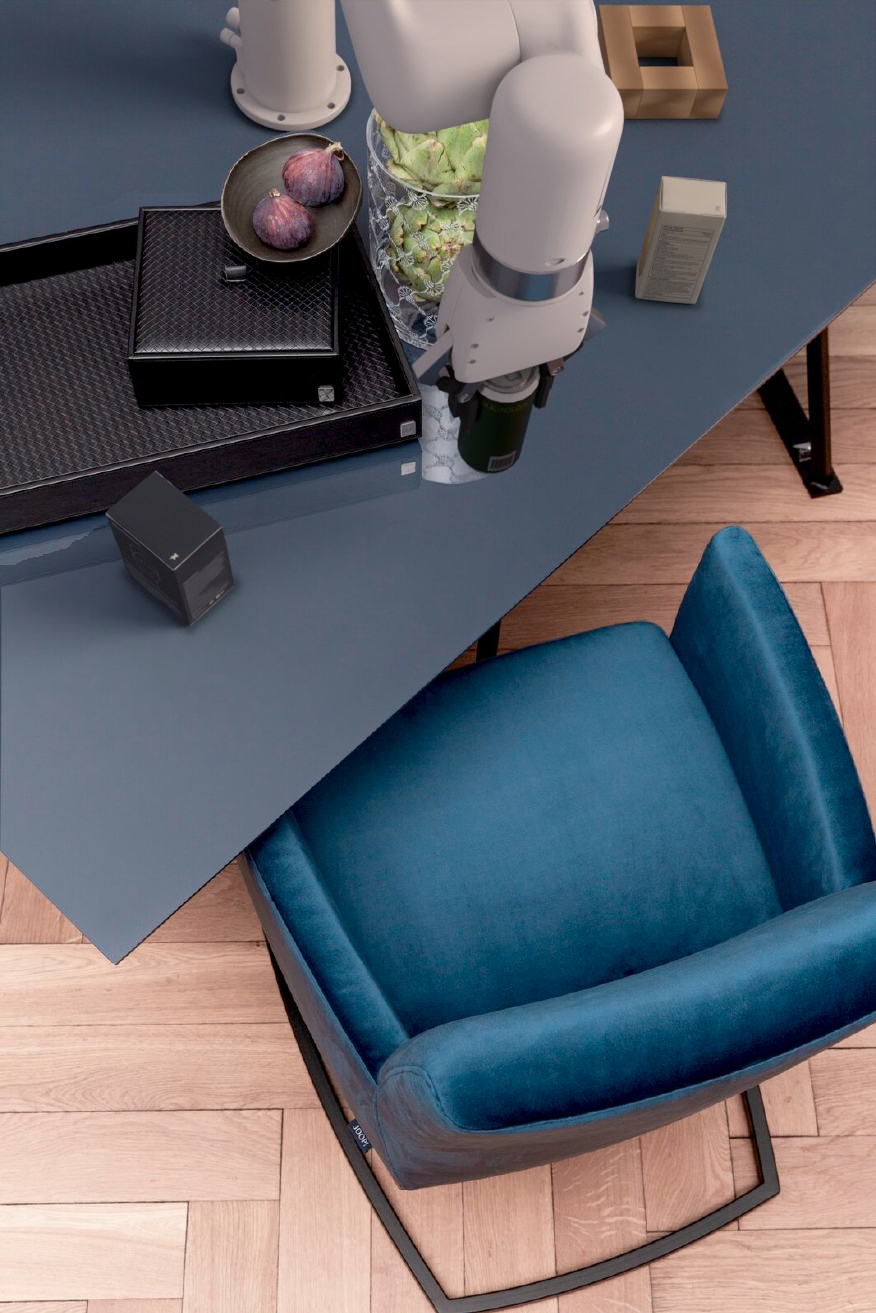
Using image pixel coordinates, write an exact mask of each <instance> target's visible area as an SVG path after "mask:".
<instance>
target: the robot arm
mask: <svg viewBox="0 0 876 1313" xmlns="http://www.w3.org/2000/svg"><path fill="white" fill-rule="evenodd" d="M339 2H340V6H341V9H342V13H343V16H344V20H345V24H346V28H347V31H348V34H349V37H350V41H351V44H352V48H353V52H354V55H355V58H356V59H355V60H356V62H357V65H358V69H359V73H360V75H361V78H362V81H363V84H364V86H365V89H366V91H367V95H368V97H369V99H370V102H371V104H372V105H373V108H374V109H375V111H376V113H377V114H378V116H379V117H380V118H381V119H382V121H383V122H384V123H385V124H387V126H389V127H390V128H391V129H393V130H395V131H397V132H400V133H403V134H407V135H424V134H428V133H433V132H438V131H442V130H447V129H451V128H456V127H460V126H463V125H467V124H468V125H469V124H472V123H476V122H482V121H487V120H489V121H488V128H487V135H486V143H485V151H484V159H483V164H482V173H481V180H480V186H479V195H478V199H477V207H476V215H475V220H474V228H473V229H474V230H473V235H472V242H471V243H469V244H466V245H464V246H463V247H461V248H460V250H459V251H458V253H457V256H456V257H455V259H454V261H453V263H452V265H451V267H450V270H449V273H448V275H447V278H446V281H445V284H444V287H443V292H442V295H441V299H440V304H439V308H438V313H437V317H436V322H435V329H434V330H435V331H434V332H435V338H436V341H435V342H434V343H433V344H432V345H431V346H430V347H428V348H427V349H426V351H425V352H424V353H423V354H422V355H420V357H418V359H416V360H415V361H414V362H413V363H412V364H411V366H410V369H411V372H412V373H413V376H414V378H415V380H416V382H417V383H418V384H420V385H421V384H422V385H425V386H428V387H433V386H435V387H437V390H438V391H439V392H443V393H445V394H448V396H447V406H448V409H449V412H450V414H451V416H452V418H453V419H456V418H459V422H460V421H461V423H462V425H463V427H464V429H465V431H467V430H470V429H472V428H473V427H474V425H475V420H476V414H477V409H478V403H479V401H478V397H477V395H476V393H475V392H476V391H477V389H478V387H479V386H480V384H481V382H482V381H483V380H487V379H490V378H494V377H498V376H501V375H505V374H508V373H512V372H515V371H519V370H522V369H525V368H529V367H532V366H535V365H539V370H540V379H539V383H538V387H537V391H536V395H535V399H534V403H533V407H534V408H535V409H538V410H540V409H543V408H546V406H547V402H548V399H549V394H550V391H551V390H552V388H553V385H554V381H555V377H556V376H557V375H560V374H562V373H563V372H564V371H565V369H566V366H565V362H566V361H568V360H569V359H571V358H572V357H574V355H575V354H576V353H578V352H580V350H582V349H583V347H584V344H585V341H586V342H588V341H589V340H591V339H592V338H594V337H595V336H597V334H599V333H600V332H601V331H604V329H605V328H606V327H607V323H606V321H605V320H604V317H603V316H602V313H601V312H600V310H599V309H598V308H596V307H594V306H592V305H593V304H592V303H593V296H594V260H593V259H594V258H593V253H592V250H591V249H592V245H593V241H594V239H595V238H596V237H597V236H599V234H600V233H603V232H607V231H608V230H609V227H610V219H609V215H608V213H607V211H606V210H604V209H602V208H603V203H604V200H605V197H606V193H607V189H608V185H609V182H610V178H611V174H612V171H613V168H614V164H615V160H616V157H617V154H618V149H619V145H620V142H621V139H622V134H623V129H624V124H625V123H624V122H625V119H624V111H623V104H622V100H621V97H620V95H619V92H618V90H617V89H616V87H615V85H614V84H613V82H612V81H611V79H610V78H609V77H608V76H607V75H606V74H605V69H604V65H603V61H602V57H601V52H600V47H599V42H598V36H597V34H598V31H597V12H596V6H595V2H594V0H339ZM237 6H238V7H235V6H234V7H231V8H230V9H229V10H228V11H227V14H226V16H225V22H226V25H228V26H229V27H230V28H232V29H234V31H236V32H238V33H240V36H239V35H238V34H237V33H235V32H234V31H233V30H231V29H229V28H227V27H224V28H223V29H222V30H221V31H220V34H219V39H220V41H221V42H222V43H225V45H227V46H229V47H232V48H233V49H234V50H235V53H236V62H235V63H234V65H233V67H232V71H231V74H230V87H231V94H232V97H233V99H234V102H235V104H236V105H237V107H238V108H239V110H240V111H241V112H242V113H243V114H244V115H245V116H246V117H248V118H249V119H251V120H252V121H253V122H255V123H256V124H259V125H262V126H264V127H266V128H270V129H273V130H278V131H283V132H284V131H285V132H301V131H302V132H303V131H308V130H312V129H315V128H319V127H322V126H324V125H325V124H327V123H330V122H331V121H332V120H334V119H335V118H337V117H338V116H339V115H340V114H341V113H342V112H343V110H344V109H345V108H346V106H347V104H348V102H349V100H350V97H351V93H352V79H351V74H350V70H349V68H348V65H347V63H346V62H345V61H344V60H343V58H342V57H341V56H340V55H339V54H338V53H337V50H336V49H337V48H336V46H337V44H336V42H337V41H336V0H237Z"/></svg>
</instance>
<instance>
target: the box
mask: <svg viewBox="0 0 876 1313" xmlns="http://www.w3.org/2000/svg"><path fill="white" fill-rule="evenodd" d="M105 516H106V519H107V521H108V525H109V527H110V529H111V532H112V534H113V537H114V539H115V542H116V545H117V547H118V550H119V553H120V555H121V558H122V560H123V564H124V566H125V569H126V572H127V573H128V575H129V576H130V577H132V579H133V580H135V581H136V582H137V583H138V584H139V585H140V586H142V587H143V589H145V590H146V591H147V592H149V593H150V595H152V596H153V597H154V598H156V599H157V600H158V601H159V602H160V603H161V604H163V605H164V606H165V607H166V608H167V609H169V611H170V612H172V613H173V614H174V615H176V617H178V618H179V619H180V620H181V621H182V622H184V624H186V625H187V626H189V627H191V626H192V625H193V624H194V623H195V622H196V621H198V620H199V619H200V618H201V617H203V615H204V614H206V613H207V612H208V611H209V610H210V609H211V608H212V607H213V606H215V605H216V604H217V602H219V601H220V600H221V599H222V598H223V597H224V596H226V594H227V593H228V592H230V591H231V590H233V588H234V587H235V580H234V576H233V575H234V574H233V570H232V564H231V560H230V554H229V551H228V546H227V540H226V536H225V531H224V525H223V524H221V523H220V522H219V521H217V520H216V519H215V518H213V516H211V515H210V514H209V513H207V511H205V510H204V509H202V508H201V506H199V505H198V504H197V503H195V502H194V501H193V500H192V499H191V498H189V497H188V496H187V495H186V494H185V493H183V492H182V491H181V490H180V489H178V488H177V487H176V486H175V485H173V483H172V482H170V481H169V480H168V479H166V478H165V477H164V476H163V475H162V474H161V473H160V472H158V471H157V470H154V471H153V472H151V474H150V475H148V476H147V477H146V478H144V479H143V480H142V481H141V482H140V483H139V484H138V485H136V486H135V487H134V488H133V489H132V490H130V491H129V492H128V493H127V494H126V495H125V496H123V497H122V498H121V499H120V500H119V501H118V502H116V503H115V504H114V505H112V506H111V507H110V508H108V510H106V512H105Z"/></svg>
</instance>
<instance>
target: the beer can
mask: <svg viewBox="0 0 876 1313" xmlns="http://www.w3.org/2000/svg"><path fill="white" fill-rule="evenodd" d="M539 379H540V370H539V365H535V366H532V367H529V368H525V369H522V370H519V371H515V372H512V373H508V374H505V375H501V376H498V377H494V378H490V379H487V380H483V381H482V382H481V384H480V386H479V387H478V389H477V391H476V392H475V393H476V395H477V397H478V401H479V403H478V409H477V414H476V420H475V425H474V427H473V428H472V429H470V430H467V431H465V429H464V427H463V425H462V423H461V421H460V420H459V427H458V433H457V440H456V441H457V442H456V444H457V451H458V453H459V456H460V458H461V459H462V461H463V462H464V463H465V464H466V465H467V467H468V468H470V469H471V470H473V471H475V472H476V473H480V474H483V475H497V474H501V473H504V472H506V471H507V470H509V469H510V468H512V467H513V466H514V465H515V464H516V463H517V462H518V460H519V459H520V457H521V454H522V450H523V446H524V442H525V439H526V433H527V430H528V426H529V422H530V418H531V415H532V410H533V407H534V404H533V403H534V399H535V395H536V391H537V387H538V383H539Z"/></svg>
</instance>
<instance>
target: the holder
mask: <svg viewBox="0 0 876 1313" xmlns="http://www.w3.org/2000/svg"><path fill="white" fill-rule="evenodd" d="M711 10H712V9H711V5H709V4H708V5H707V4H705V5H703V4H701V5H698V4H694V5H693V4H692V5H691V4H685V5H683V4H682V5H676V4H675V5H673V4H671V5H669V4H667V5H666V4H662V5H661V4H657V5H654V4H599V5H598V7H597V12H596V16H597V31H598V34H597V36H598V42H599V47H600V52H601V57H602V61H603V65H604V69H605V74H606V75H607V76H608V77H609V78H610V79H611V81H612V82H613V84H614V85H615V87H616V89H617V90H618V92H619V95H620V97H621V100H622V104H623V111H624V120H635V119H636V120H657V119H658V120H674V119H676V120H677V119H678V120H683V119H684V120H686V119H687V120H689V119H690V120H696V119H697V120H702V119H703V120H714V119H715V120H716V119H717V120H718V119H719V116H720V113H721V110H722V107H723V104H724V101H725V99H726V95H727V92H728V90H729V86H728V82H727V78H726V74H725V69H724V64H723V60H722V56H721V50H720V47H719V46H720V45H719V41H718V38H717V32H716V28H715V24H714V19H713V15H712V11H711ZM638 58H676V61H677V66H640V65H639V64H640V63H639V60H638Z"/></svg>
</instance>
